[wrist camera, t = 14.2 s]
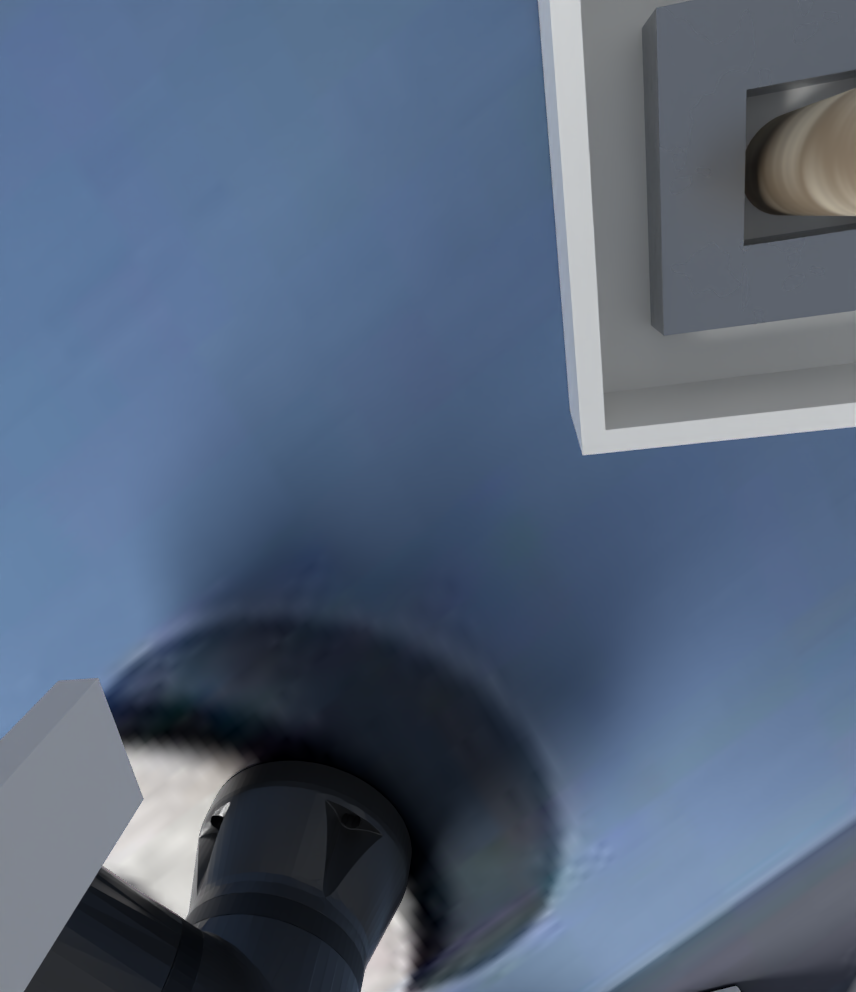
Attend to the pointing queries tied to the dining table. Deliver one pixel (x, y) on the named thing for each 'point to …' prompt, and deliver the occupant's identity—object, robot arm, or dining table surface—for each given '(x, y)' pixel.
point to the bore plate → (734, 162)
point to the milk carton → (729, 989)
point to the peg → (806, 160)
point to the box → (625, 265)
